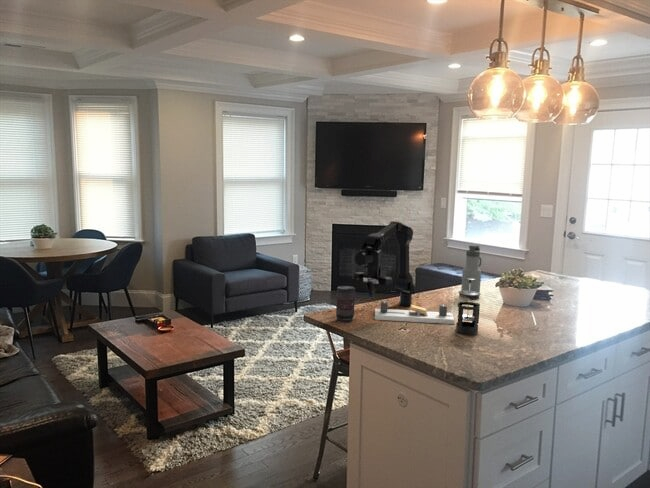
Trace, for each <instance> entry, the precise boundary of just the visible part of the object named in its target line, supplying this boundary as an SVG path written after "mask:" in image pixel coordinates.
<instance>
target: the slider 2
mask: <svg viewBox="0 0 650 488" xmlns="http://www.w3.org/2000/svg"><path fill="white" fill-rule="evenodd" d="M438 312H439V314H440V315H446V316H447V313H448V305H446V304H439V309H438Z"/></svg>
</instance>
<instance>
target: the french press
mask: <svg viewBox="0 0 650 488" xmlns="http://www.w3.org/2000/svg"><path fill="white" fill-rule="evenodd" d="M465 279H466V280H469V283H471V280H476V279H474V278H465ZM479 295H480V296H481V292H480V293H479V292H475V291H470V285H469V291H461V290H459V291H458V297H463V296H466V297H467V298H466V299H468V301H459V302H457V306H456V307H457V308H458V309H457V310H458V311H457V322H456V323H455V329H454V330H455V331H454V332H455V333H456V334H459V335H463V336H477V335H478V334H479V322H480V321H479V320H480V309H481V308H480V307H481V303H480V302H472V301H477V300H480V296H479ZM470 300H471V301H470ZM464 310H467V314H464ZM469 311H472V315H471V314H469Z"/></svg>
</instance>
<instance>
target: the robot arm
mask: <svg viewBox="0 0 650 488" xmlns="http://www.w3.org/2000/svg"><path fill="white" fill-rule="evenodd" d="M393 235H394V237H395V240H396V242H397V244H398V267H399V268H398V269H399V270H398V271H399V272H398V274H397V276H395V278H394V279H395V283H394V285H395V290H396V292H397V293H400V294H399V301H398V305H399V306H405V307H411V305H413V303H412V298H413V297H412V296H413V295H416V293H417V287H416V286H415V283H414V278H413V277H412V274H411V273H410V244H411V242H412V240H413V236H414V229H413V228H412V227H410V226H408V225H405V224H403V223H402V222H401V221H394V220H393V221H390V222H389V224H387V225H386V226H385V227H384V228H381V230H378V232H374V233H370V234H368V235H366V237H365V239H364V241H363V243H362V246H361V248H360V249H359V250H358V253H356V254H355V257H354V262H355V264H356V265H357V266H362V267H363V266H364V268H366V271H365V272H363V271H362V272H361V271H358V272H356V271H355V272H353V274H352V280H356V281H359V279H363V281H362V284H363V285H364V286H365V288H366V290H367V292H368V295H369V297H370V298H373V297H374V295H375V293H376V290H377V288H378V286H379V285H382V286H388V285H392V284H393V278H392V277H391V276H386V275H387V270H386V269H383V268H382V266H381V264H380V257H381V255H380V254H381V253H383V250H382V249H381V248H382V247H384V245H385V241H386V240H387V239H389V238H390V237H392V236H393Z"/></svg>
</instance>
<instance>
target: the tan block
mask: <svg viewBox="0 0 650 488" xmlns="http://www.w3.org/2000/svg"><path fill="white" fill-rule="evenodd" d="M409 308H410V310H411V311H415V312H417V310H420V313H422V314H426V312H427V308H424V307H421V306H418V305H414V304H412V305H411V306H409Z"/></svg>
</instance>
